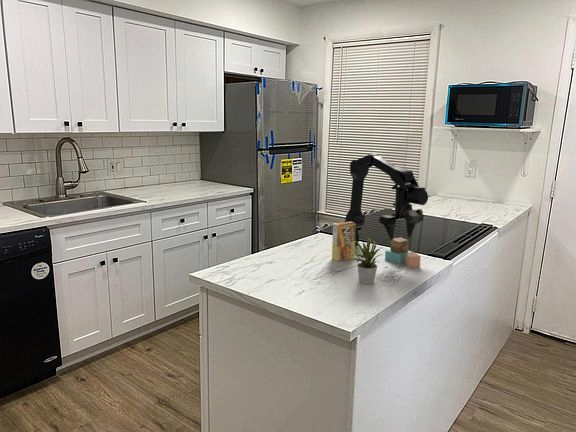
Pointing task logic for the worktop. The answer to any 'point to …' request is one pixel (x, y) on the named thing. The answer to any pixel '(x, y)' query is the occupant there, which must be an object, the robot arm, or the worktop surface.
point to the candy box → (343, 240)
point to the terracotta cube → (412, 259)
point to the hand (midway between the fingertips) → (400, 238)
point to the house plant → (366, 262)
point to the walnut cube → (399, 245)
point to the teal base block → (395, 256)
